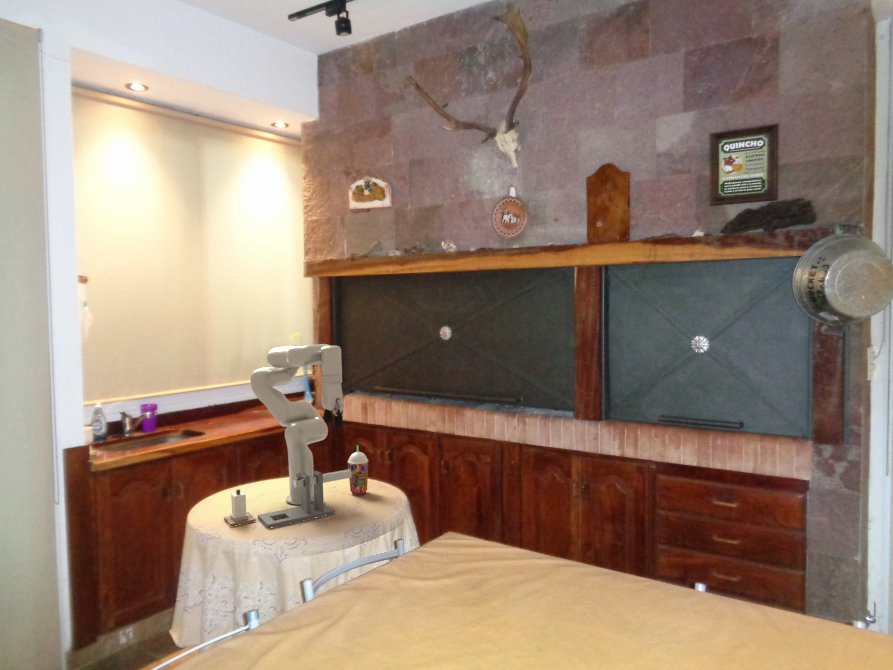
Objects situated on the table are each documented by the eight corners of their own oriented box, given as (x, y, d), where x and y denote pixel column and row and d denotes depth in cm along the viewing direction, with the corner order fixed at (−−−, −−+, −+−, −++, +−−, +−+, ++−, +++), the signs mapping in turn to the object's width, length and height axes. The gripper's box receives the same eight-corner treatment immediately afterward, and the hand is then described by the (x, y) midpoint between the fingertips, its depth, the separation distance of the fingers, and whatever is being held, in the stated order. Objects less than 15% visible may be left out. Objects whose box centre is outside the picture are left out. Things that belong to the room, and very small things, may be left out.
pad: (224, 519, 237) (224, 517, 237) (248, 514, 242) (248, 512, 242) (230, 527, 230) (230, 524, 230) (255, 521, 235) (255, 519, 234)
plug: (230, 517, 236) (229, 489, 236) (244, 514, 239) (243, 487, 238) (234, 521, 232) (233, 493, 232) (248, 518, 235) (247, 490, 234)
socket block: (257, 518, 237) (256, 477, 236) (322, 505, 251) (320, 466, 250) (267, 528, 227) (266, 486, 226) (334, 514, 241) (333, 473, 240)
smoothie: (360, 497, 259) (358, 448, 258) (344, 494, 263) (342, 446, 262) (373, 492, 266) (372, 444, 265) (357, 489, 271) (356, 442, 269)
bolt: (293, 486, 238) (293, 472, 238) (348, 475, 250) (348, 463, 250) (296, 487, 236) (295, 474, 236) (351, 477, 248) (351, 464, 248)
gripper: (313, 377, 246) (315, 421, 247) (331, 382, 231) (333, 429, 233) (332, 375, 250) (333, 419, 251) (350, 380, 235) (352, 426, 237)
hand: (333, 424), depth 242 cm, fingers open, 9 cm apart
